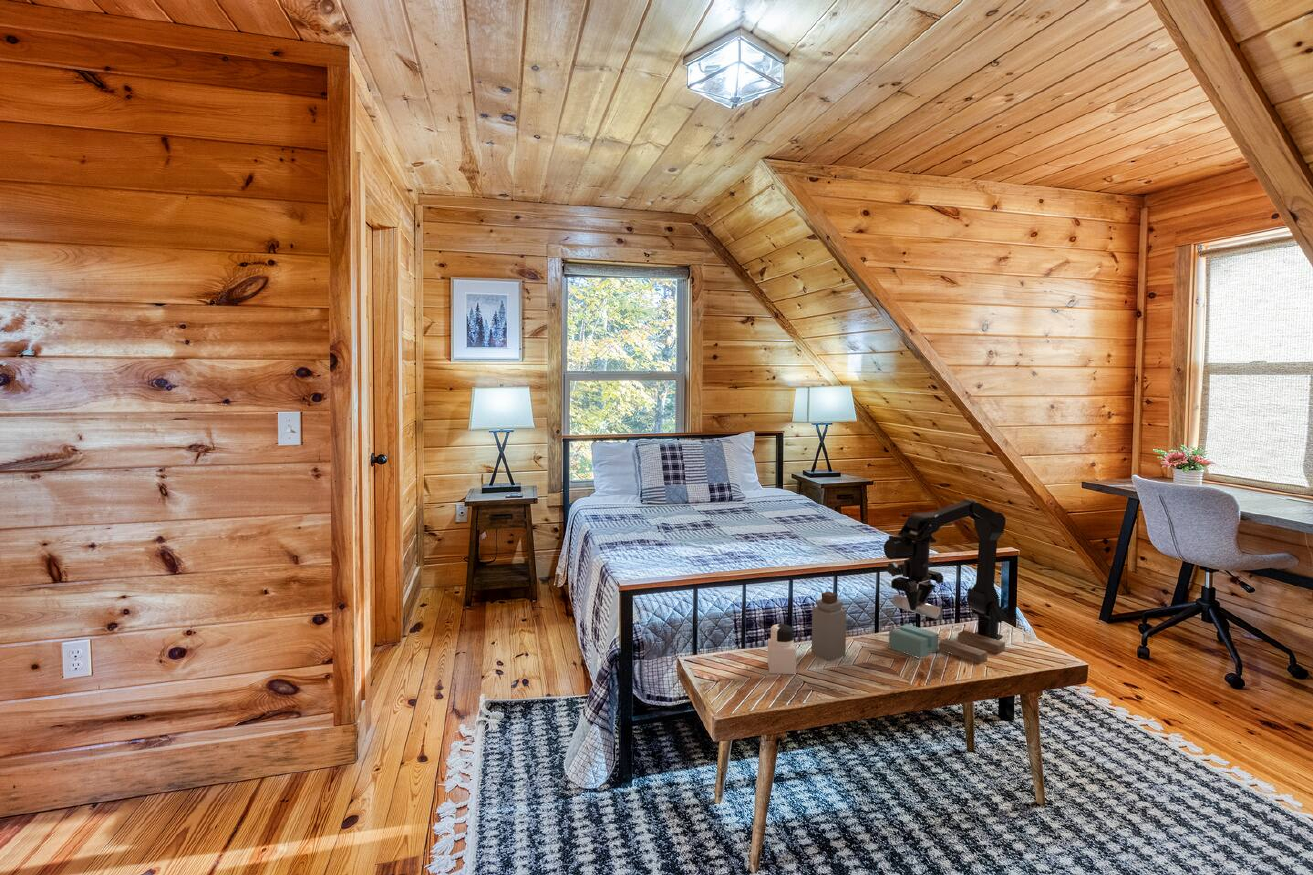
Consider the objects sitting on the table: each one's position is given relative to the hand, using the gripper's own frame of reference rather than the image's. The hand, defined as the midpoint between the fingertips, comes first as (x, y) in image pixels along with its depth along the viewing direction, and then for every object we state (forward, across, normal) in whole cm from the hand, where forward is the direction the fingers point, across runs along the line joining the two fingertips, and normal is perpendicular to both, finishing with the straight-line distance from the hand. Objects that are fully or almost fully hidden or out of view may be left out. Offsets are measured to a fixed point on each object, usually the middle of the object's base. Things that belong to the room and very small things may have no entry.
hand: (916, 608), depth 189 cm
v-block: (+12, +2, +1) cm, 12 cm away
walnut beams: (+11, -11, +12) cm, 20 cm away
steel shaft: (+1, 0, 0) cm, 1 cm away
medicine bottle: (+13, +43, -14) cm, 47 cm away
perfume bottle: (+12, +25, -12) cm, 30 cm away
